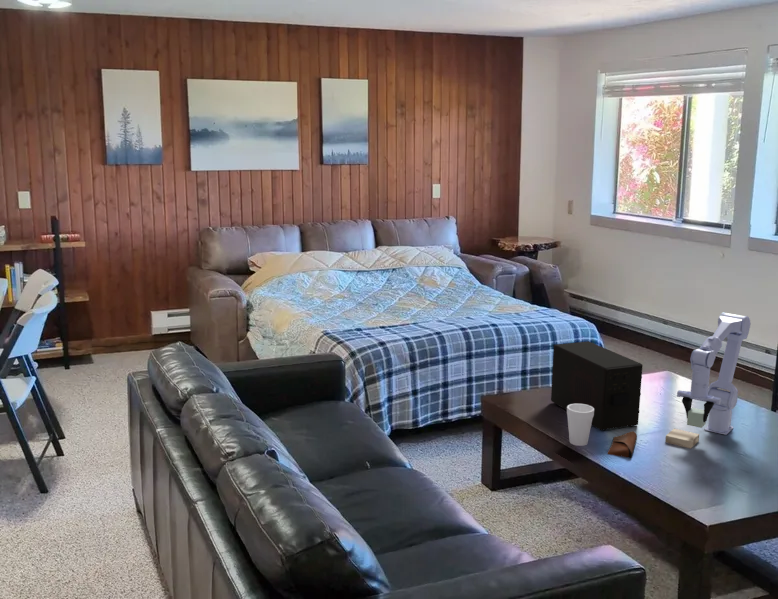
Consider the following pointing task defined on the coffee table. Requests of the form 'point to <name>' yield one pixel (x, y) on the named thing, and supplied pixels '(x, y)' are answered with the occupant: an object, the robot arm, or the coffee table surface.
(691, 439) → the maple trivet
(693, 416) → the sage cube
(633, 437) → the sunglasses case
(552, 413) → the coffee table surface
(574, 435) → the foam cup
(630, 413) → the black rectangular box
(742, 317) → the robot arm
